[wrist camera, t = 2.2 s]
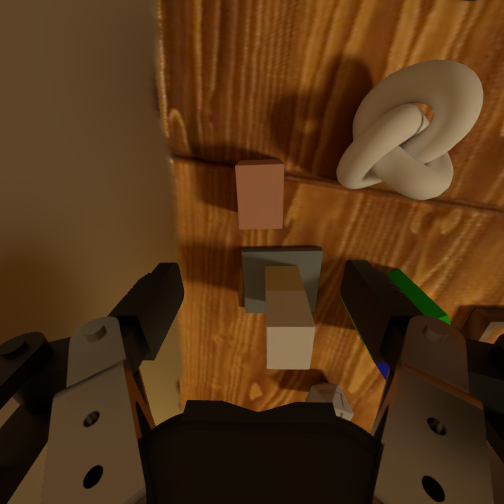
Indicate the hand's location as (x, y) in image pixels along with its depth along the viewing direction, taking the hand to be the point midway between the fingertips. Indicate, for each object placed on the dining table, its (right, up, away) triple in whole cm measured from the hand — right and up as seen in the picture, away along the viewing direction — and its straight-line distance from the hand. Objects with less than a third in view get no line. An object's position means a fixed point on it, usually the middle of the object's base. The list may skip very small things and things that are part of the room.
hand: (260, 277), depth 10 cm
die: (+15, -28, +38) cm, 50 cm away
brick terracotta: (+1, +10, +18) cm, 21 cm away
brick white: (+4, -7, +19) cm, 20 cm away
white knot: (+15, +14, +16) cm, 26 cm away
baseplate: (+4, -3, +25) cm, 26 cm away
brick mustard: (+4, -4, +24) cm, 25 cm away
